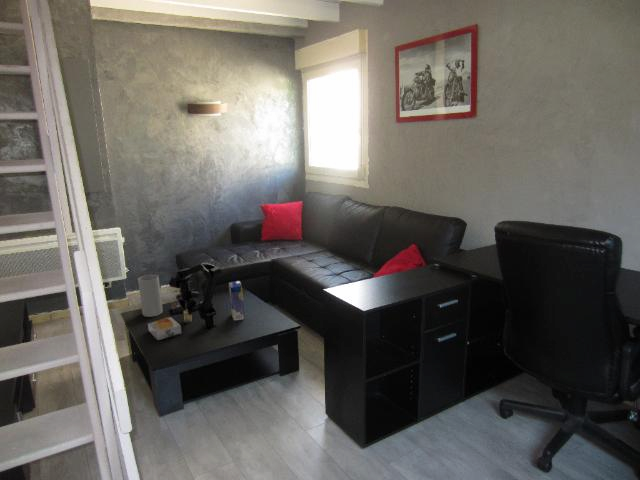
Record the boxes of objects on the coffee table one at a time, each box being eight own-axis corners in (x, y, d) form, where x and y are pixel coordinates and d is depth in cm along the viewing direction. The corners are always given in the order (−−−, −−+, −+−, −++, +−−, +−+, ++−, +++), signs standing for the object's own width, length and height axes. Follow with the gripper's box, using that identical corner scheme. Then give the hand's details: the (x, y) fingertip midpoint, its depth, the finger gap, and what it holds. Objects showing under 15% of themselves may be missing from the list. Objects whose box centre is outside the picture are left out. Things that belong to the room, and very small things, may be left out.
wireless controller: (173, 315, 293) (170, 291, 289) (172, 308, 306) (169, 284, 302) (204, 310, 301) (202, 286, 296) (202, 303, 313) (199, 280, 309)
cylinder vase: (156, 317, 290) (151, 281, 284) (138, 316, 292) (133, 280, 286) (166, 310, 301) (162, 275, 295) (149, 309, 304) (145, 274, 298)
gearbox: (183, 334, 264) (182, 323, 262) (159, 342, 256) (158, 330, 254) (171, 324, 279) (170, 314, 277) (148, 331, 270) (147, 320, 269)
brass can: (193, 321, 283) (192, 310, 281) (186, 323, 280) (185, 312, 278) (190, 318, 286) (189, 308, 285) (183, 321, 283) (182, 310, 282)
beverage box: (241, 312, 294) (239, 280, 288) (244, 319, 284) (242, 286, 278) (231, 314, 292) (228, 282, 286) (233, 320, 281) (230, 287, 276)
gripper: (203, 289, 275) (205, 313, 279) (191, 282, 290) (193, 305, 293) (186, 294, 269) (188, 318, 273) (174, 286, 283) (177, 309, 287)
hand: (187, 312), depth 282 cm, fingers open, 9 cm apart
